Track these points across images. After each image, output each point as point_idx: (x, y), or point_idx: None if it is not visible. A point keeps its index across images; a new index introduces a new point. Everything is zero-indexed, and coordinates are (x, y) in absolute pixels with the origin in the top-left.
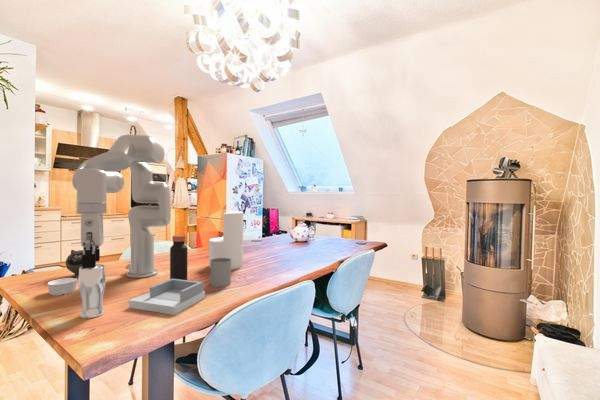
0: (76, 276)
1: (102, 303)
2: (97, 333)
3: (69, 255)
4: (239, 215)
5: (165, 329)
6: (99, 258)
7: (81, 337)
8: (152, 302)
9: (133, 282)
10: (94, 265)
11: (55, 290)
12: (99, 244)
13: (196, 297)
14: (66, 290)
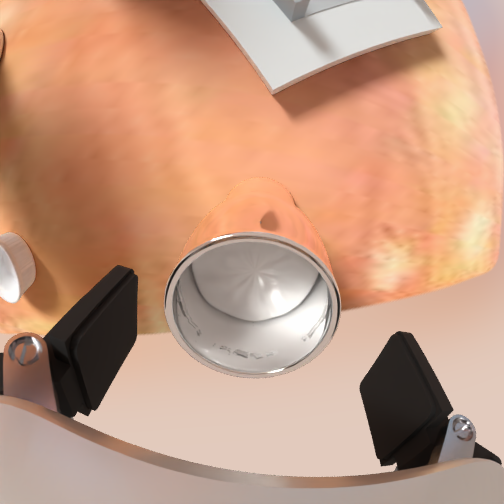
0: None
1: (269, 189)
2: (419, 227)
3: None
4: None
5: (490, 103)
6: (116, 275)
7: (412, 260)
8: (362, 38)
9: (16, 79)
10: (412, 344)
11: (28, 282)
12: (500, 469)
13: None
14: (26, 258)
